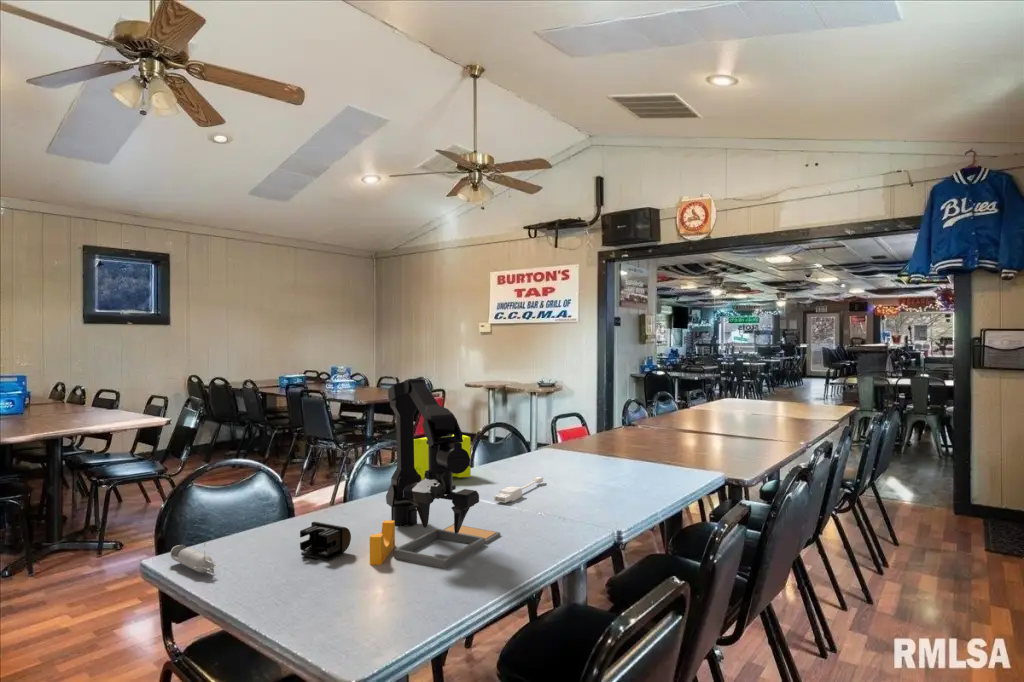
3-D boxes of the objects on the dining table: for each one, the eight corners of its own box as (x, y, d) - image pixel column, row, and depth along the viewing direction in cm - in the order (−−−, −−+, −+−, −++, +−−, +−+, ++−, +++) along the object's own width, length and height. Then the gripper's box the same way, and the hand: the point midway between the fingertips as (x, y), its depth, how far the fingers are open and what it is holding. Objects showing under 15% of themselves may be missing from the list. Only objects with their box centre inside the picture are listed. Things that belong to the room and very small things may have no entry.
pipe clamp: (377, 546, 143) (377, 520, 143) (394, 546, 142) (394, 520, 142) (362, 565, 131) (362, 536, 131) (380, 565, 130) (380, 537, 130)
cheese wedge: (464, 482, 205) (463, 441, 205) (410, 480, 209) (410, 440, 209) (476, 470, 224) (476, 432, 224) (427, 468, 228) (427, 431, 228)
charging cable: (547, 483, 205) (547, 474, 205) (506, 505, 178) (506, 495, 178) (535, 482, 207) (535, 473, 207) (493, 503, 180) (493, 493, 180)
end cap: (351, 552, 139) (351, 524, 139) (329, 562, 132) (329, 533, 132) (321, 545, 143) (320, 518, 143) (298, 555, 137) (298, 526, 137)
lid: (438, 535, 150) (438, 531, 150) (453, 527, 156) (453, 523, 156) (486, 545, 143) (486, 540, 143) (500, 536, 149) (500, 531, 149)
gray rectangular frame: (394, 558, 134) (394, 549, 134) (436, 536, 149) (436, 528, 149) (445, 569, 127) (445, 560, 127) (484, 545, 142) (484, 537, 142)
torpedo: (164, 562, 133) (164, 533, 133) (185, 555, 137) (185, 528, 137) (203, 580, 123) (202, 550, 123) (224, 573, 127) (224, 543, 127)
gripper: (388, 468, 135) (388, 534, 135) (453, 476, 126) (453, 547, 126) (417, 459, 145) (417, 520, 145) (480, 466, 136) (480, 532, 136)
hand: (440, 530), depth 138 cm, fingers open, 9 cm apart
